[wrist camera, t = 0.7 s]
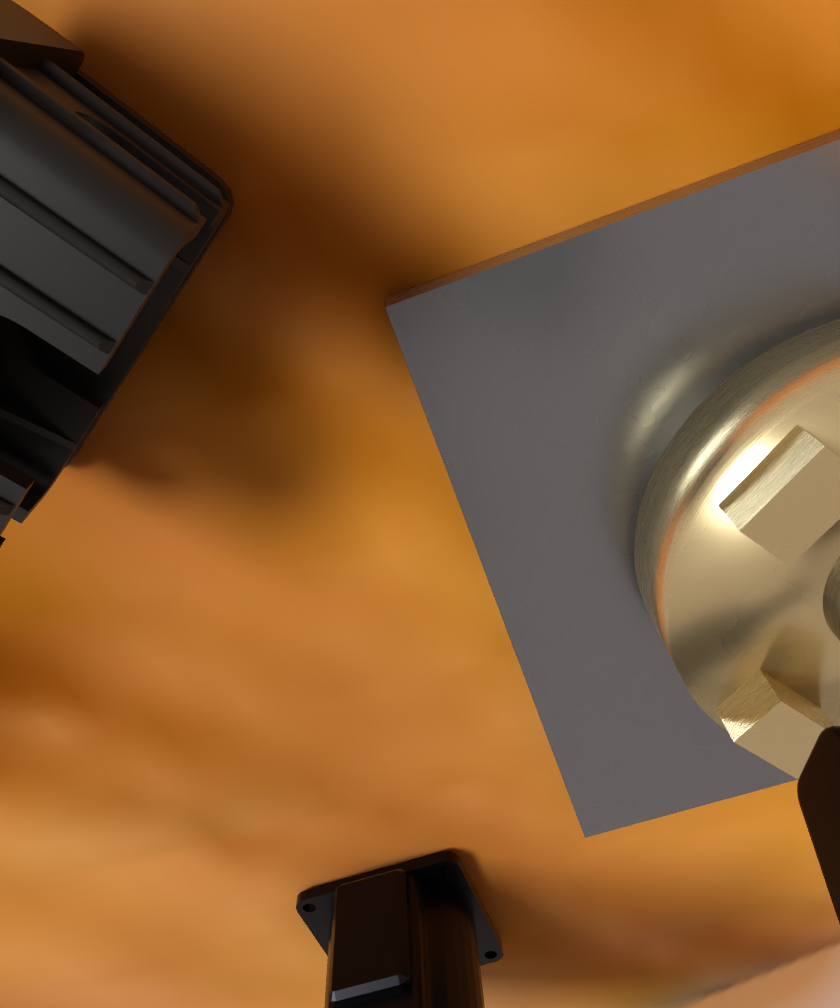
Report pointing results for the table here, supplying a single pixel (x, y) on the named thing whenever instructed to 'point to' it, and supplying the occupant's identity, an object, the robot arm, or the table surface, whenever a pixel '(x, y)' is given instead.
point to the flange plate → (614, 445)
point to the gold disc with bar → (754, 549)
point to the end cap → (80, 249)
